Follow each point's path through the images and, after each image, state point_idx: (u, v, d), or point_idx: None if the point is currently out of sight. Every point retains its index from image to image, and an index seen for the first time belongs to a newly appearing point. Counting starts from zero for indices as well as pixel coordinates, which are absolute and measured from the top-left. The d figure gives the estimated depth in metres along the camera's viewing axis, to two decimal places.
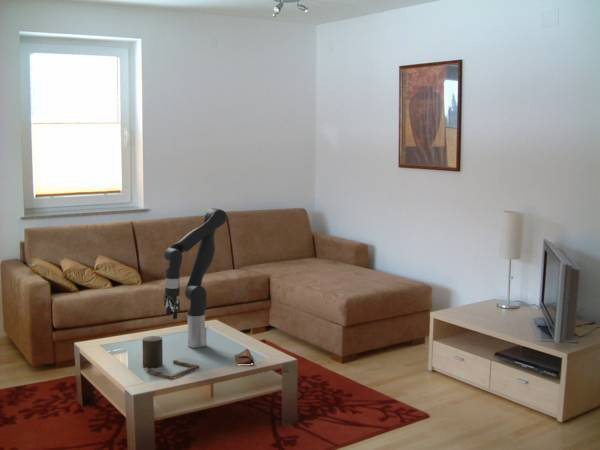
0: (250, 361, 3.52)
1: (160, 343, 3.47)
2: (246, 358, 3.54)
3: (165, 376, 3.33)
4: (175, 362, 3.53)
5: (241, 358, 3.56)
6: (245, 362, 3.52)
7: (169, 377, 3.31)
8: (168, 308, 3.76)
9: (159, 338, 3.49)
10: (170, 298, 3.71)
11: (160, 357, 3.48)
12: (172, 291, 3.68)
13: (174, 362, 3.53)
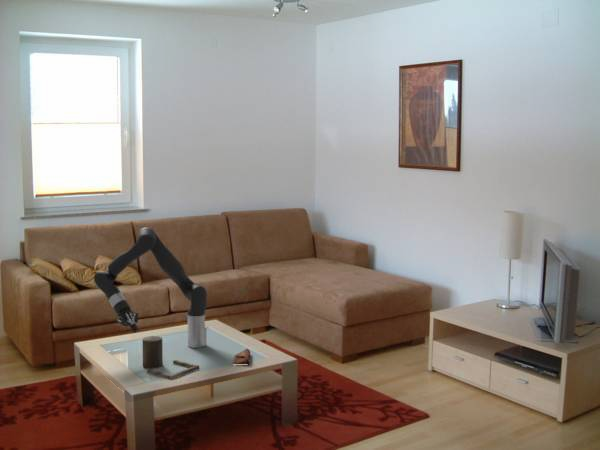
0: (246, 361, 3.51)
1: (160, 343, 3.47)
2: (242, 358, 3.54)
3: (165, 376, 3.33)
4: (175, 362, 3.53)
5: (238, 358, 3.56)
6: (241, 362, 3.52)
7: (169, 377, 3.31)
8: None
9: (159, 338, 3.49)
10: (127, 312, 3.59)
11: (160, 357, 3.48)
12: None
13: (174, 362, 3.53)
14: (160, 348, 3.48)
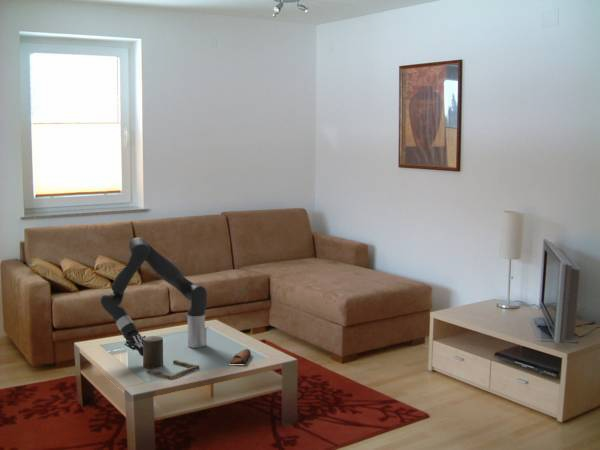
0: (241, 361, 3.51)
1: (161, 343, 3.47)
2: (239, 358, 3.54)
3: (165, 376, 3.33)
4: (175, 362, 3.53)
5: (235, 358, 3.56)
6: (236, 362, 3.52)
7: (169, 377, 3.31)
8: None
9: (160, 338, 3.49)
10: (134, 335, 3.56)
11: (161, 357, 3.48)
12: None
13: (174, 362, 3.53)
14: (161, 348, 3.47)
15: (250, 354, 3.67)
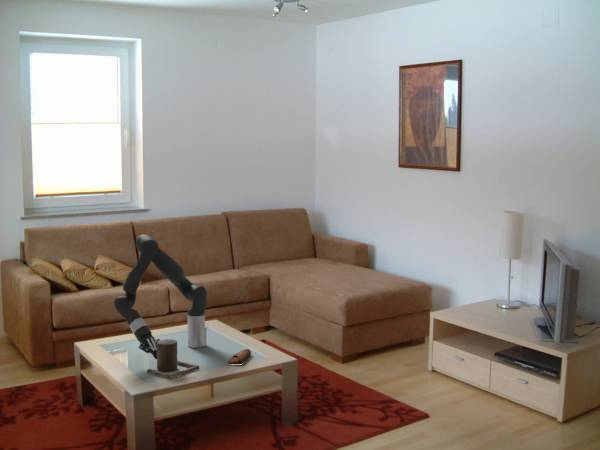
0: (238, 361, 3.51)
1: (175, 346, 3.42)
2: (237, 358, 3.54)
3: (165, 376, 3.33)
4: None
5: (233, 357, 3.57)
6: (234, 362, 3.52)
7: (169, 377, 3.31)
8: None
9: (174, 341, 3.43)
10: (148, 338, 3.50)
11: (175, 361, 3.43)
12: None
13: None
14: (175, 351, 3.42)
15: (250, 354, 3.67)
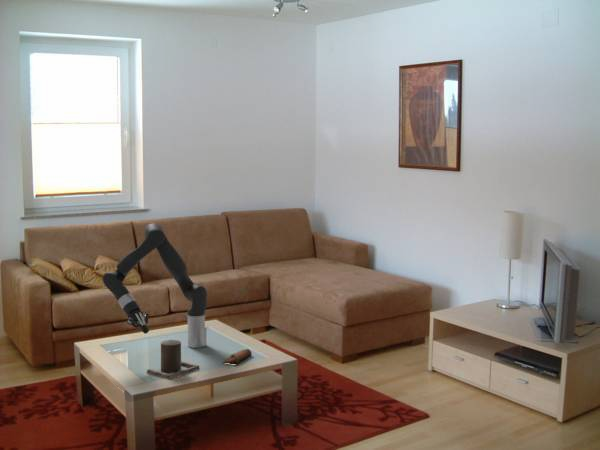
0: (233, 361, 3.52)
1: (178, 347, 3.41)
2: (233, 357, 3.55)
3: (165, 376, 3.33)
4: None
5: (231, 357, 3.58)
6: (229, 361, 3.53)
7: (169, 377, 3.31)
8: None
9: (178, 342, 3.42)
10: (137, 313, 3.54)
11: (178, 361, 3.41)
12: None
13: None
14: (178, 352, 3.41)
15: (250, 354, 3.66)
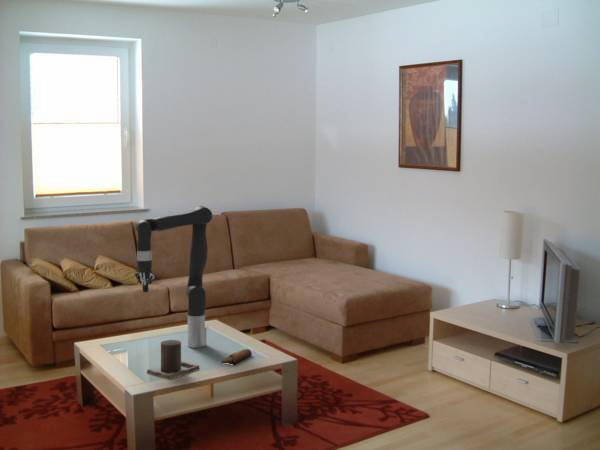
0: (231, 361, 3.52)
1: (178, 347, 3.41)
2: (231, 357, 3.55)
3: (165, 376, 3.33)
4: None
5: (229, 356, 3.58)
6: (227, 361, 3.54)
7: (169, 377, 3.31)
8: None
9: (178, 342, 3.42)
10: None
11: (178, 361, 3.41)
12: None
13: None
14: (178, 352, 3.41)
15: None
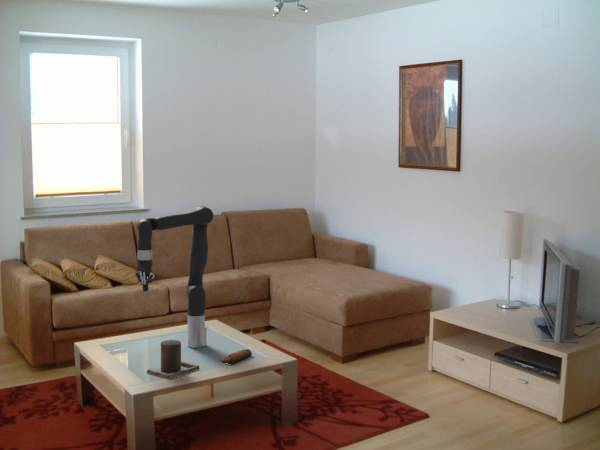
0: (229, 360, 3.53)
1: (178, 347, 3.41)
2: (230, 357, 3.56)
3: (165, 376, 3.33)
4: None
5: (228, 356, 3.59)
6: (225, 360, 3.54)
7: (169, 377, 3.31)
8: None
9: (177, 342, 3.42)
10: None
11: (178, 361, 3.41)
12: None
13: None
14: (178, 352, 3.41)
15: None
